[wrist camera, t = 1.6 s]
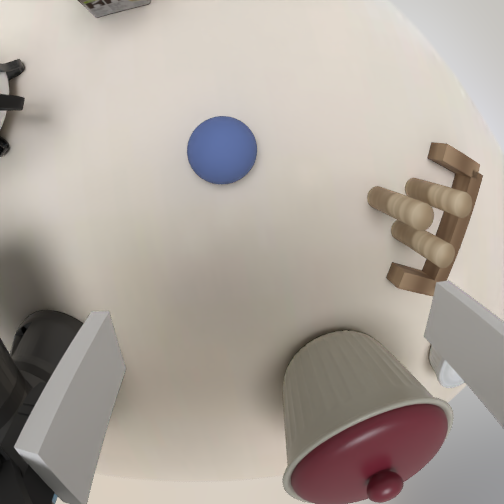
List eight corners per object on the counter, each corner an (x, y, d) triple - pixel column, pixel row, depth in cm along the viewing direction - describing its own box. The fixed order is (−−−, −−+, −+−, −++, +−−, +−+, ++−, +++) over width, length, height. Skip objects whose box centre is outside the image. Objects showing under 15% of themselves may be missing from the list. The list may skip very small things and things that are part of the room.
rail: (386, 277, 35) (397, 288, 32) (431, 142, 30) (447, 143, 27) (426, 287, 36) (438, 297, 34) (469, 164, 31) (484, 167, 29)
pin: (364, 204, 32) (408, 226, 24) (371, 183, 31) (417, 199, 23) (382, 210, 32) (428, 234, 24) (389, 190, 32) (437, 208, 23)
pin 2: (388, 236, 34) (432, 265, 25) (395, 216, 33) (442, 240, 24) (404, 241, 34) (448, 270, 25) (411, 222, 33) (458, 247, 25)
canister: (287, 424, 42) (315, 545, 23) (241, 341, 36) (259, 503, 17) (397, 379, 42) (461, 482, 22) (381, 283, 36) (490, 399, 16)
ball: (184, 172, 29) (175, 179, 24) (200, 112, 28) (194, 105, 22) (244, 187, 30) (248, 197, 25) (260, 128, 29) (269, 124, 23)
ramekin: (483, 331, 41) (500, 347, 36) (438, 378, 43) (453, 397, 38) (463, 296, 38) (484, 313, 33) (412, 351, 40) (428, 372, 35)
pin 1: (402, 194, 32) (451, 213, 24) (408, 175, 31) (459, 188, 23) (418, 201, 32) (467, 221, 24) (424, 182, 32) (475, 197, 23)
